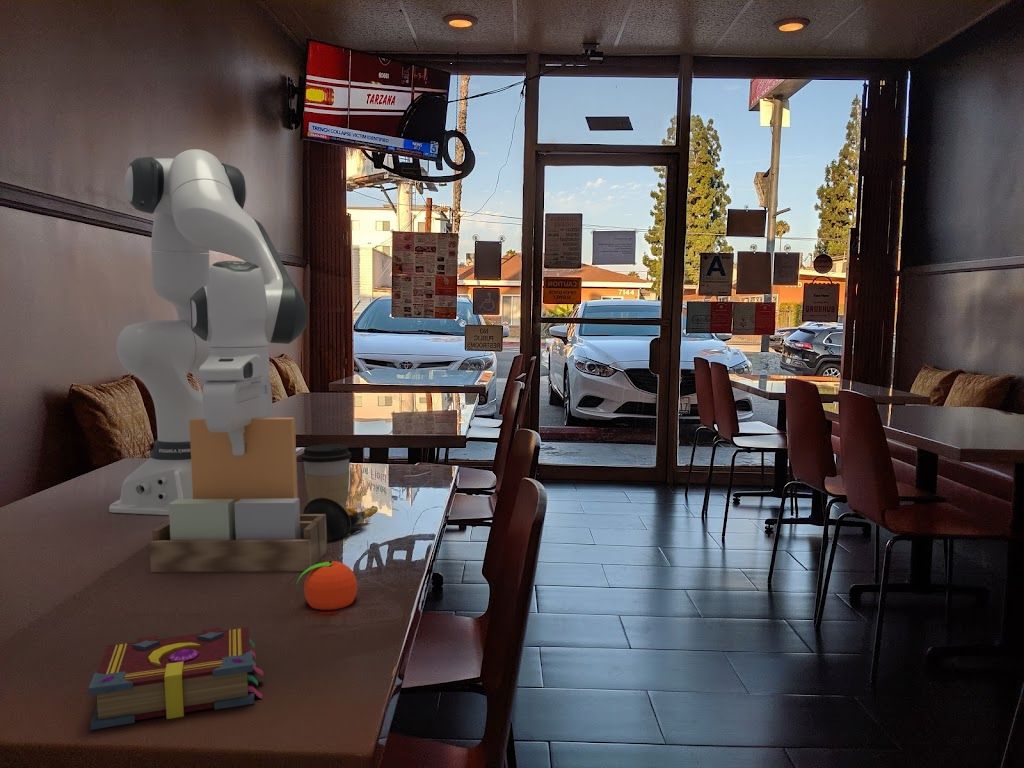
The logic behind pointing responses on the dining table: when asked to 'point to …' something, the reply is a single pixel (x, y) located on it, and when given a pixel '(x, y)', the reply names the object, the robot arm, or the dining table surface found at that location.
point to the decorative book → (174, 676)
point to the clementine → (330, 586)
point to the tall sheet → (245, 461)
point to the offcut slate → (267, 519)
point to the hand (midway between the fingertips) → (243, 452)
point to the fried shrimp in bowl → (338, 517)
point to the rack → (240, 551)
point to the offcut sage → (202, 519)
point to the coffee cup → (327, 472)
